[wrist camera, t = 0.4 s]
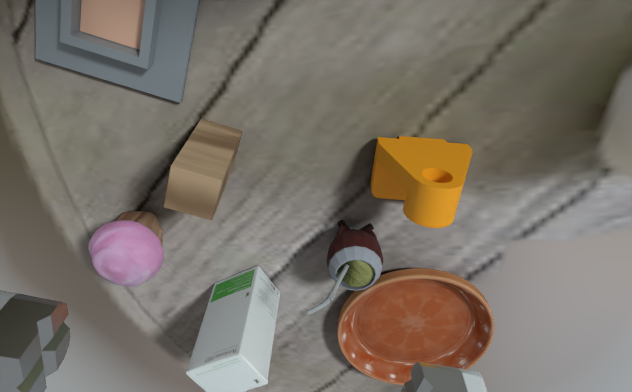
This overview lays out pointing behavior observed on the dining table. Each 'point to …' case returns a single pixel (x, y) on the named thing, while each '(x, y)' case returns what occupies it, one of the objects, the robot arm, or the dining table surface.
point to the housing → (120, 41)
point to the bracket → (421, 177)
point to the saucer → (414, 324)
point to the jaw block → (202, 169)
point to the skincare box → (236, 334)
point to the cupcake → (128, 248)
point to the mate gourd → (353, 260)
